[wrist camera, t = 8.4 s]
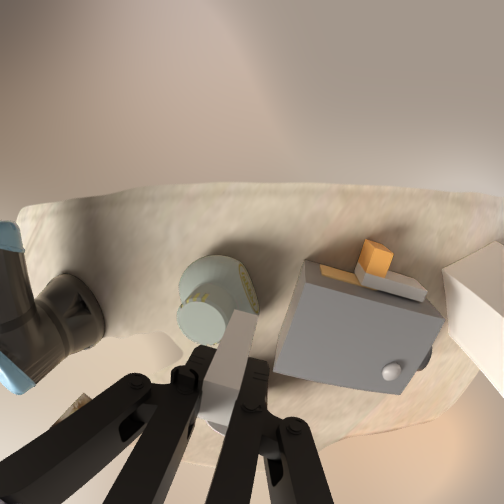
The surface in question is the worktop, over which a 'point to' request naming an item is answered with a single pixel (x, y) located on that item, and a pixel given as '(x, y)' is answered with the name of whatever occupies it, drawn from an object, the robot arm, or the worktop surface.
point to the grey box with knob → (354, 333)
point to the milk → (478, 309)
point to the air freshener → (213, 297)
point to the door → (385, 273)
